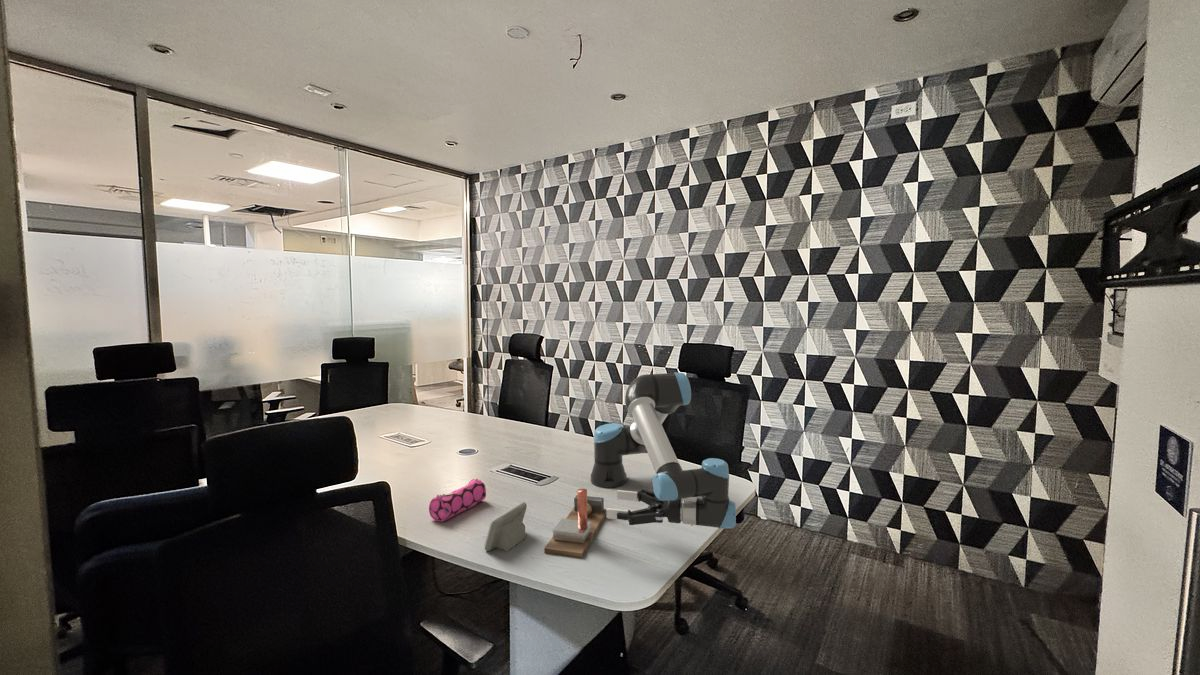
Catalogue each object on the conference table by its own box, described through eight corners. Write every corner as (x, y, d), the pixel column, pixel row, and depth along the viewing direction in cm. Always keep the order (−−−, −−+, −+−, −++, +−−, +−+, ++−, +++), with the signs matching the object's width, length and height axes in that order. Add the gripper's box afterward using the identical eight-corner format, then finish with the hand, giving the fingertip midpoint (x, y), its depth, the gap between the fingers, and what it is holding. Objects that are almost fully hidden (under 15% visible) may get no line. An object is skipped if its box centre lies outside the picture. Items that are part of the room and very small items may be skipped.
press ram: (583, 543, 146) (582, 496, 145) (553, 539, 149) (552, 493, 148) (591, 530, 154) (590, 486, 153) (562, 527, 157) (560, 483, 155)
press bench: (582, 558, 141) (581, 538, 141) (544, 552, 145) (543, 534, 144) (607, 513, 170) (607, 496, 170) (575, 509, 173) (575, 493, 173)
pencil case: (448, 526, 162) (446, 498, 161) (427, 521, 167) (426, 493, 166) (489, 502, 181) (488, 476, 180) (470, 497, 186) (469, 472, 185)
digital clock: (518, 528, 161) (517, 497, 160) (536, 536, 155) (535, 505, 154) (477, 547, 148) (476, 514, 147) (495, 557, 142) (494, 523, 142)
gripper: (677, 543, 129) (602, 534, 135) (685, 504, 153) (621, 498, 159) (677, 516, 129) (601, 509, 134) (685, 482, 153) (621, 476, 158)
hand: (612, 503), depth 147 cm, fingers open, 13 cm apart
